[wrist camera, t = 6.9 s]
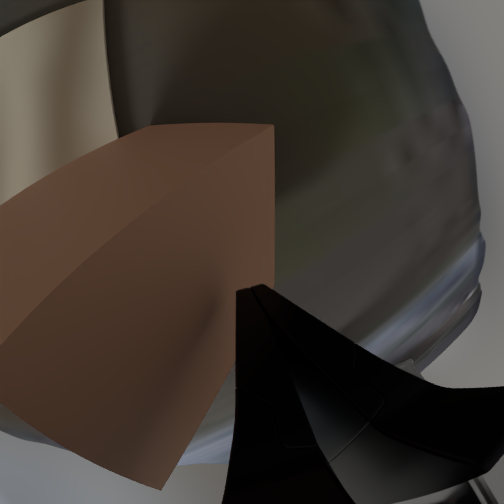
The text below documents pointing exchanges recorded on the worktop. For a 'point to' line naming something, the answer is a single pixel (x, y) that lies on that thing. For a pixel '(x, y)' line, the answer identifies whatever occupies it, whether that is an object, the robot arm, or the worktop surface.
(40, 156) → the birch board
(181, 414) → the terracotta block
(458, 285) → the worktop surface
